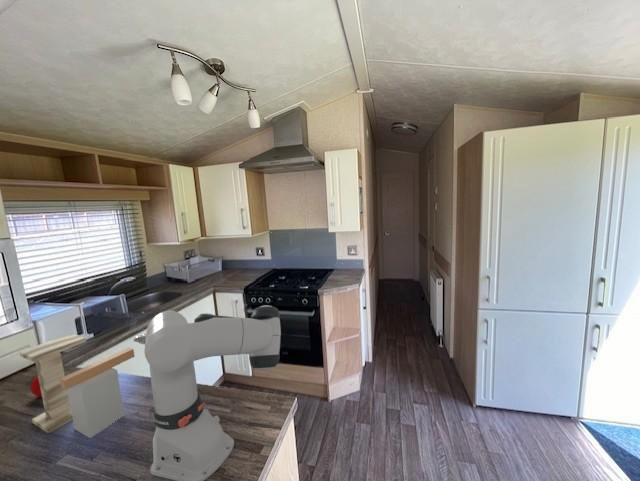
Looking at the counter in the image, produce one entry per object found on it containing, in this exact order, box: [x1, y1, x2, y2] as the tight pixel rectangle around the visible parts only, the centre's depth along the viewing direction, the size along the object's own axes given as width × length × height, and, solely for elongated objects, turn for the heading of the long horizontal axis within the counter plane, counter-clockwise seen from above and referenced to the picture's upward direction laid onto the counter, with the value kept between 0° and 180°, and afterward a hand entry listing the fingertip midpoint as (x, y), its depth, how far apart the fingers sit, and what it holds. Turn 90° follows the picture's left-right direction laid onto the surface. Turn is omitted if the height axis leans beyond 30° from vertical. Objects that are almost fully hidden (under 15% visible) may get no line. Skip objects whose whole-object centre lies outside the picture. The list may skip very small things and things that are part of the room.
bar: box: [60, 347, 135, 390], centre depth 93 cm, size 3×20×3 cm, turn 154°
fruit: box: [29, 375, 42, 398], centre depth 110 cm, size 9×9×10 cm
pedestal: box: [67, 367, 125, 439], centre depth 91 cm, size 10×10×17 cm
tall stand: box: [19, 333, 87, 434], centre depth 96 cm, size 12×14×26 cm
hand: (142, 340), depth 105 cm, fingers open, 8 cm apart
